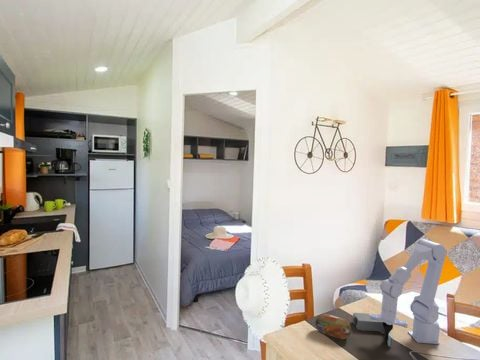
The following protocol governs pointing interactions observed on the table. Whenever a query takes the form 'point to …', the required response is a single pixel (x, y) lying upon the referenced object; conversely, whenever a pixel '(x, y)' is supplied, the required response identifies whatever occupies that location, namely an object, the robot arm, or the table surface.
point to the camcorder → (366, 323)
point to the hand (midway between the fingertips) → (386, 339)
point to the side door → (389, 339)
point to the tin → (333, 326)
